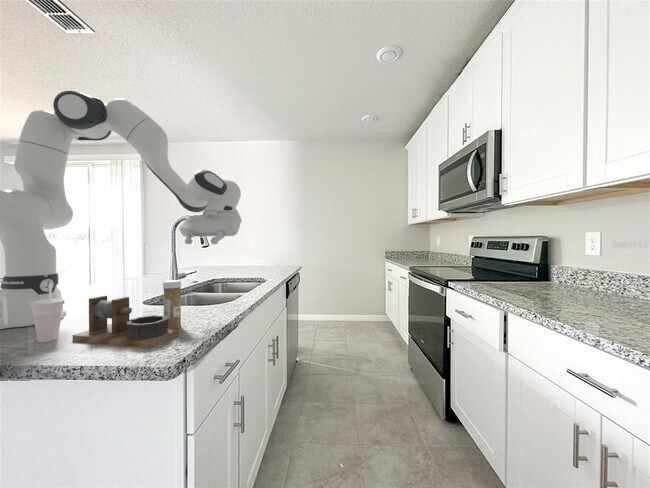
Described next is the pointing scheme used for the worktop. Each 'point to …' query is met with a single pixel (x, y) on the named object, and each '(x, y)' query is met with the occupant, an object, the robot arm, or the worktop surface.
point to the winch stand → (123, 325)
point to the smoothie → (47, 317)
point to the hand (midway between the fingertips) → (200, 243)
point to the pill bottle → (172, 303)
